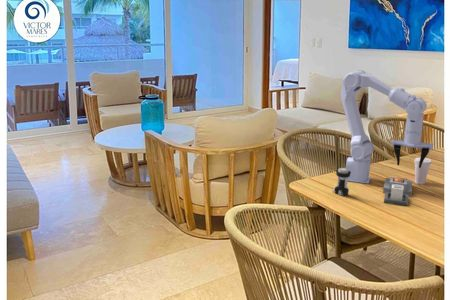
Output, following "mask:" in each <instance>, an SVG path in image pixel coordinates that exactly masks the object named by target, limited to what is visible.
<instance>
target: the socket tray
mask: <svg viewBox="0 0 450 300" xmlns="http://www.w3.org/2000/svg"><path fill="white" fill-rule="evenodd" d="M390 197H391V192H386V193H384V199H383V203H384V204H390V205H397V206H403V207H408V206H409V196H408V195H407V194H403V197H402V201H400V200H393V199H390Z"/></svg>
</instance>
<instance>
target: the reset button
mask: <svg viewBox="0 0 450 300" xmlns="http://www.w3.org/2000/svg"><path fill="white" fill-rule="evenodd" d="M402 178H403V177H395V180H394V182H400V183H403V179H404V178H403V179H402Z"/></svg>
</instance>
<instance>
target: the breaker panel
mask: <svg viewBox="0 0 450 300" xmlns="http://www.w3.org/2000/svg"><path fill="white" fill-rule="evenodd" d="M395 178H396V177H394V176H393V177H392V176H391V177H390V178H389V177H385V180H384V184H383V191H382V193H383V194H385V193H386V192H391V188H392V184H393V185H394V184H397V185H401V186H404V188H403V194H407V195H408V198H412V194H413V193H412V191H413V181H412V180H408V179H407V178H403V177H401V178H402V179H403V183H400V182H394V180H395Z"/></svg>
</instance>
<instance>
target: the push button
mask: <svg viewBox="0 0 450 300" xmlns="http://www.w3.org/2000/svg"><path fill="white" fill-rule="evenodd" d="M335 174H336V176H337V184H336V186H335V187H331V191H332V192H334V194H335V195H338V196H342V197H347V196H349V190H350V189H349V188H348V182H349V181H348V177H350V174H351V172H350V171H349V169H347V168H346V167H339V168H338V169H337V170H336V171H335Z"/></svg>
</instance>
